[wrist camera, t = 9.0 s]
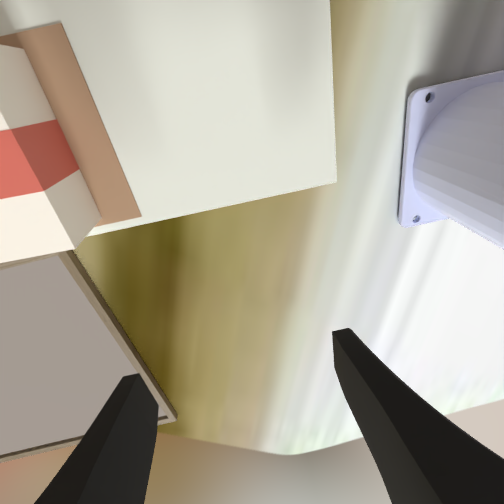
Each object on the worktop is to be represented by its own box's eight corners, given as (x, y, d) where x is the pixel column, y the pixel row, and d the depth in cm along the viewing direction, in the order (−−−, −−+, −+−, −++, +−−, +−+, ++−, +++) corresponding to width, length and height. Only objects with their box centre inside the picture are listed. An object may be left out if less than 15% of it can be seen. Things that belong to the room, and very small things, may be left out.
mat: (307, -433, 8) (312, -461, 8) (334, 180, 17) (337, 182, 17) (-439, -262, 8) (-475, -280, 8) (-24, 258, 18) (-30, 262, 17)
